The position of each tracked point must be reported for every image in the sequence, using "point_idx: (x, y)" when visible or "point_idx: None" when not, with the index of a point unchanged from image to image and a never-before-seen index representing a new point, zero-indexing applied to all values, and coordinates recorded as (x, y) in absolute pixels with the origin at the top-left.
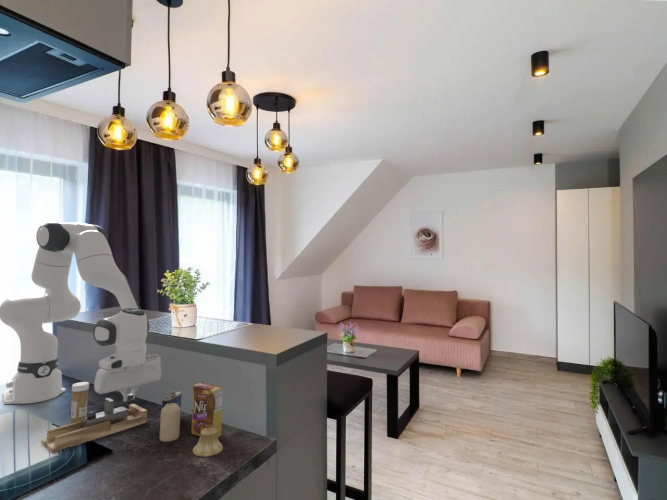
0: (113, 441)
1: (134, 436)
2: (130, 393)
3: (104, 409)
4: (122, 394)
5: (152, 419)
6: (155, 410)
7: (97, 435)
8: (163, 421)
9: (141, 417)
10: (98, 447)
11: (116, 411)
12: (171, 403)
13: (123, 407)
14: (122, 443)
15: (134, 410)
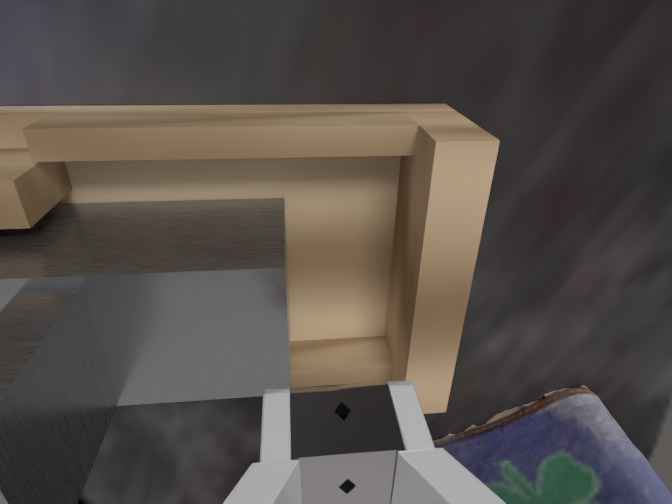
0: (120, 443)
1: (248, 454)
2: (398, 460)
3: (7, 312)
4: (235, 501)
5: (479, 310)
6: (644, 148)
7: None
8: None
9: (381, 376)
10: None
11: (165, 372)
12: None
13: (278, 315)
14: (159, 485)
15: (410, 260)
